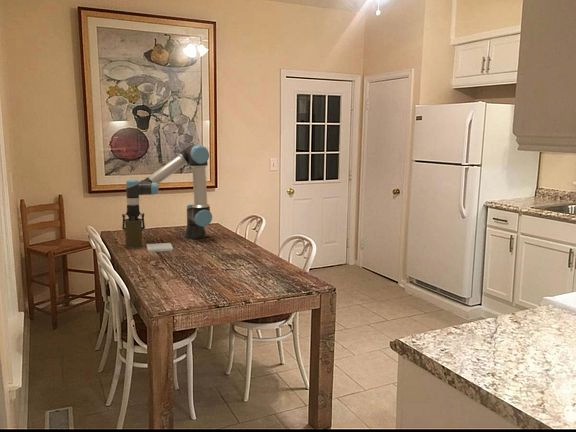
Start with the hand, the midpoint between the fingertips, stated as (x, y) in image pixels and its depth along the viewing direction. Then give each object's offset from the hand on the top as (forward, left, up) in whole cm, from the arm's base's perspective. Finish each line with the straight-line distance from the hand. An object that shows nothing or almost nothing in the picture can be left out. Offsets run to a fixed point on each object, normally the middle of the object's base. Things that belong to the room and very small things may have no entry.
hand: (133, 240), depth 311 cm
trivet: (-15, +10, -4) cm, 18 cm away
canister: (0, 0, -4) cm, 4 cm away
